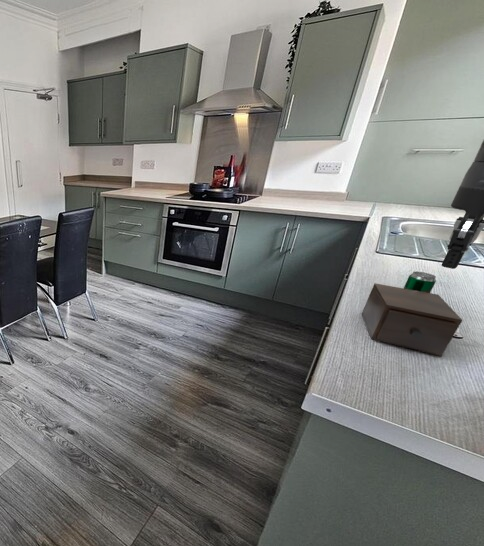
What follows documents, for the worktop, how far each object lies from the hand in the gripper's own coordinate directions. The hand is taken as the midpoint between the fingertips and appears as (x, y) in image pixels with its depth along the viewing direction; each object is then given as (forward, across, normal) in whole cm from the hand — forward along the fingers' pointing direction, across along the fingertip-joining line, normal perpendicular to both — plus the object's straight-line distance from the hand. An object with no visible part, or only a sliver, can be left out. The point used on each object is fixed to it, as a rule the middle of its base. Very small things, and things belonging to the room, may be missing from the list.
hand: (448, 267), depth 68 cm
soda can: (+20, +17, +4) cm, 26 cm away
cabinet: (+19, +1, +3) cm, 20 cm away
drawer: (+18, -1, +2) cm, 19 cm away
